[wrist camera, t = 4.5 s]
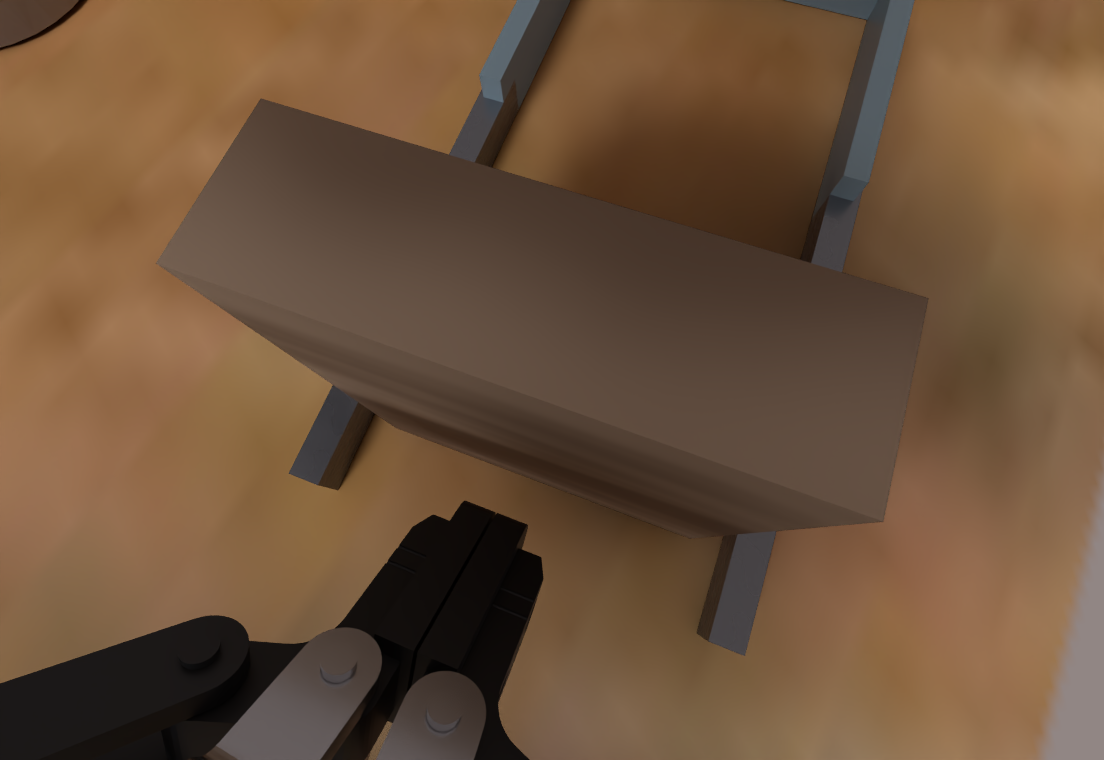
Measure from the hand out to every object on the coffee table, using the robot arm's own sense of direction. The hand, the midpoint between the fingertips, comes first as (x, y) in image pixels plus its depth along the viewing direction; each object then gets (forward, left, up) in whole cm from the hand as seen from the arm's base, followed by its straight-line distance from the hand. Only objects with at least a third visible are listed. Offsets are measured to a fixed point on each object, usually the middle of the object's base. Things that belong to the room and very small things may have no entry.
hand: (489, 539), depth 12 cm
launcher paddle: (-2, +2, -5) cm, 6 cm away
